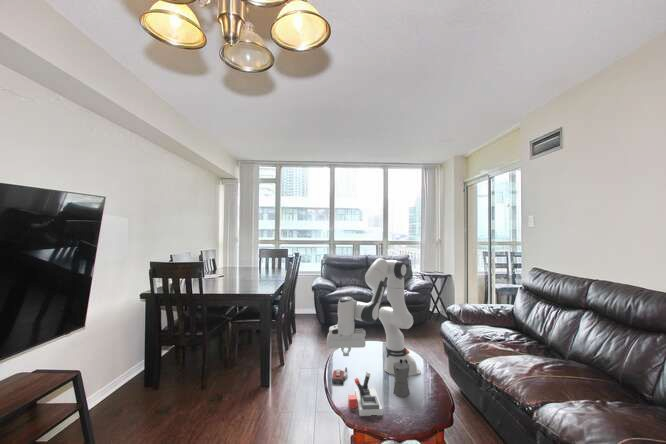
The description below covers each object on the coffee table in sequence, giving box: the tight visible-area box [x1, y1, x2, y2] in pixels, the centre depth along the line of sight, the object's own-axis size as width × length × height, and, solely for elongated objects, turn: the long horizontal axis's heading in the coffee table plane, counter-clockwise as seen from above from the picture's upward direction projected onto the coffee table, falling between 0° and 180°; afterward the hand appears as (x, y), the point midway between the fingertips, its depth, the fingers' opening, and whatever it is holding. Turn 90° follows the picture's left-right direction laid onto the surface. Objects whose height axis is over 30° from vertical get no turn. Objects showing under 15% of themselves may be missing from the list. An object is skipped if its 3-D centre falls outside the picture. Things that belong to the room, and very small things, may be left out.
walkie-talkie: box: [331, 367, 348, 385], centre depth 182 cm, size 9×4×20 cm
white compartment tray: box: [354, 384, 383, 417], centre depth 153 cm, size 11×19×5 cm, turn 3°
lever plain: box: [362, 370, 371, 389], centre depth 160 cm, size 2×3×10 cm
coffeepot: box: [393, 359, 411, 398], centre depth 165 cm, size 15×9×18 cm, turn 146°
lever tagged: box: [354, 377, 366, 395], centre depth 154 cm, size 2×3×10 cm
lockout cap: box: [347, 394, 358, 409], centre depth 151 cm, size 4×4×4 cm
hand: (345, 355), depth 154 cm, fingers closed
